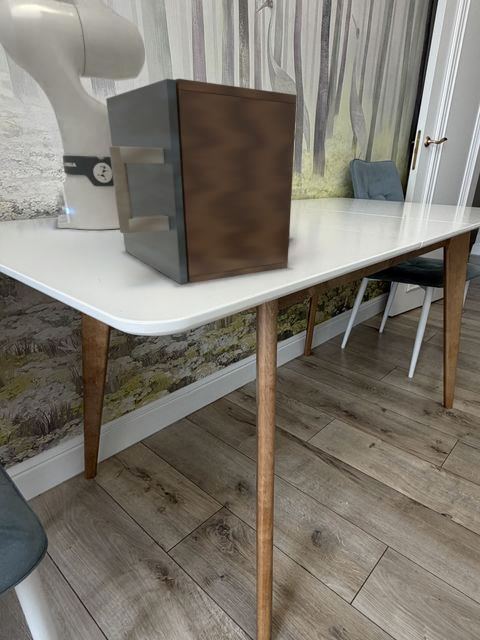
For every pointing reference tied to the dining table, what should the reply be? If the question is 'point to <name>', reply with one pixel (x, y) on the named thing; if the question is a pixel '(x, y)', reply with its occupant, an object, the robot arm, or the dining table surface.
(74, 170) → the robot arm
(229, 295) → the dining table surface
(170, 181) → the door
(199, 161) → the cupboard
